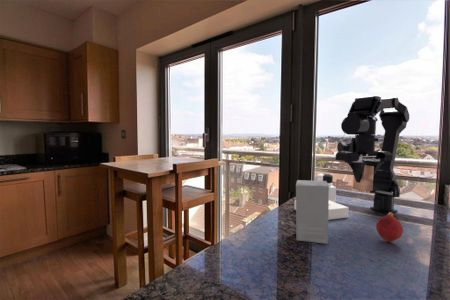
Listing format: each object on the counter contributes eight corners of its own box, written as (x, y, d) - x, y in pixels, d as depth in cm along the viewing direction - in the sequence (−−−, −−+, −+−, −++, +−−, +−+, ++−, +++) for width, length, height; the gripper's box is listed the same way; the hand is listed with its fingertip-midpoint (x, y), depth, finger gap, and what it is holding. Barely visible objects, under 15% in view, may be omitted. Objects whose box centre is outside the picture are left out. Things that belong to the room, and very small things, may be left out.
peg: (362, 187, 81) (363, 164, 81) (372, 190, 77) (373, 166, 77) (353, 188, 80) (354, 165, 79) (363, 191, 76) (364, 166, 75)
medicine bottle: (329, 199, 105) (330, 173, 104) (335, 204, 97) (336, 175, 97) (313, 199, 105) (314, 172, 104) (317, 203, 98) (318, 175, 97)
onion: (394, 248, 59) (395, 217, 59) (371, 239, 64) (372, 211, 64) (406, 244, 62) (408, 214, 62) (383, 235, 67) (384, 208, 67)
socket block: (322, 206, 94) (322, 197, 94) (348, 217, 82) (348, 207, 82) (294, 209, 91) (294, 200, 90) (316, 221, 78) (317, 210, 78)
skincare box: (326, 235, 67) (328, 180, 66) (328, 246, 60) (330, 185, 59) (295, 231, 70) (296, 178, 69) (294, 241, 63) (295, 182, 62)
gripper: (365, 135, 88) (363, 176, 89) (324, 134, 82) (322, 179, 83) (394, 135, 77) (392, 182, 78) (350, 134, 72) (348, 185, 73)
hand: (362, 182), depth 78 cm, fingers closed on peg, 4 cm apart
